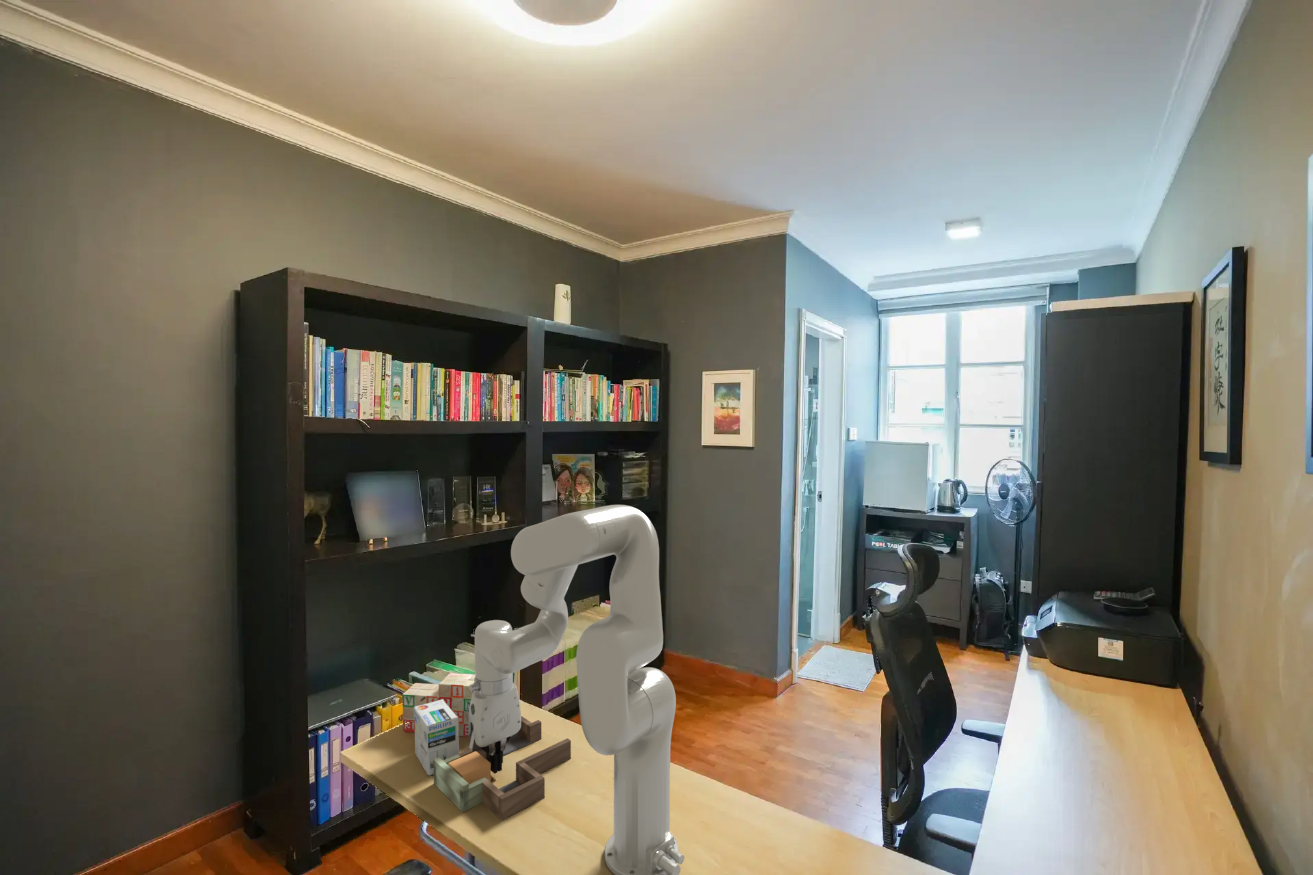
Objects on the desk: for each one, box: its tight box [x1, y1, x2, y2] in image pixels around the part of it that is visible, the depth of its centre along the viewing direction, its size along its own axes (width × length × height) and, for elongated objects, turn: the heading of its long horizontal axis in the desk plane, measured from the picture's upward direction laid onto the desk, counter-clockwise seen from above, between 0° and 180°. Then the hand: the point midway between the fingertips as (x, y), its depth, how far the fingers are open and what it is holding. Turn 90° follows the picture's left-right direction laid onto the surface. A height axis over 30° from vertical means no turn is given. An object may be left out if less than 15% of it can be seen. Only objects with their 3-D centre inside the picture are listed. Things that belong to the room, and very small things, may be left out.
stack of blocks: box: [401, 672, 475, 738], centre depth 143 cm, size 21×6×12 cm, turn 83°
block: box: [449, 751, 492, 784], centre depth 121 cm, size 6×6×5 cm
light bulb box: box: [414, 699, 460, 776], centre depth 130 cm, size 11×7×11 cm, turn 37°
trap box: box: [433, 715, 572, 821], centre depth 126 cm, size 27×25×5 cm
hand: (494, 769), depth 125 cm, fingers closed
